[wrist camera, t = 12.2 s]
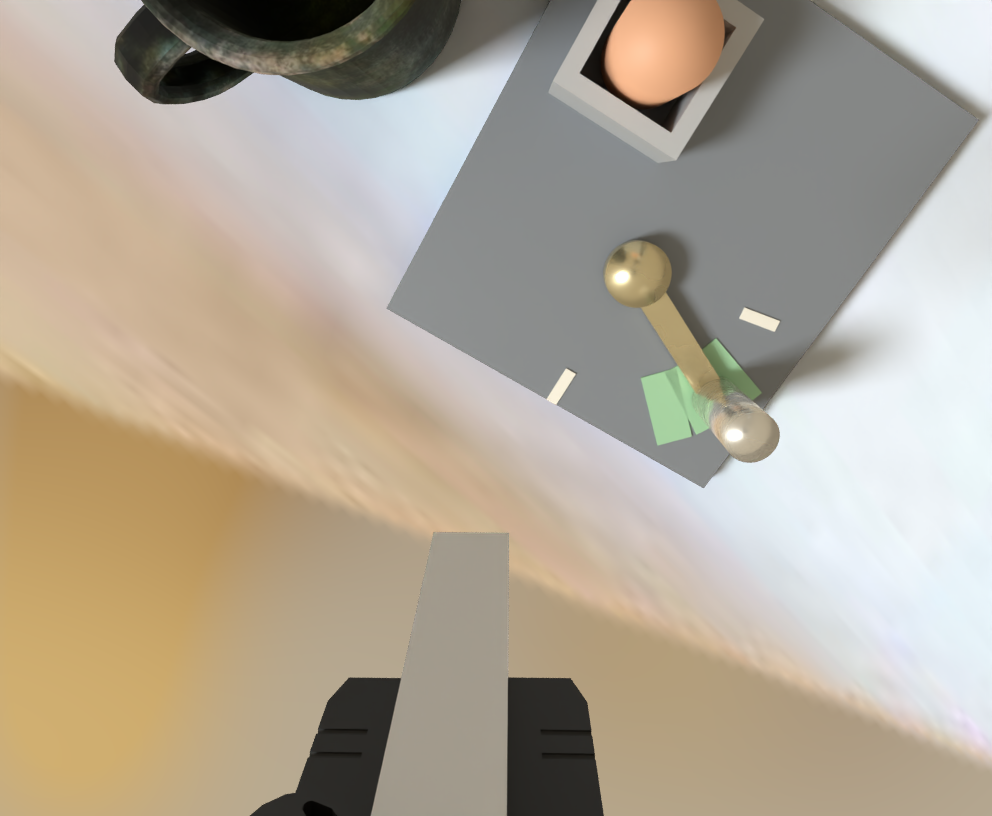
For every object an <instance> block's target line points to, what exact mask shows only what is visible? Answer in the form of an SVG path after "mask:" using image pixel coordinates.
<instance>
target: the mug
mask: <svg viewBox="0 0 992 816" xmlns="http://www.w3.org/2000/svg"><path fill="white" fill-rule="evenodd" d="M141 1H142V2H143V3H144V5H143V6H142V7H141V8H140V9H139V10H138V11H137V12H136V14H135V15H134V16H133V17H132V19H131V20H130V21H129V23H128V24H127V25H126V26H125V28H124V29H123V30H122V31H121V33H120V34H119V35H118V37H117V39H116V43H115V60H114V62H115V63H116V65H117V66H118V68H119V69H120V71H121V73H122V74H123V76H124V77H125V79H126V80H127V81H128V82H129V83H130V84H131V85H132V86H133V87H134V88H135V89H136V90H137V91H138V92H139V93H140V94H141V95H142V96H144V97H145V98H147V99H149V100H150V101H152V102H153V103H159V104H186V103H191V102H196V101H201V100H205V99H208V98H211V97H213V96H216V95H219V94H221V93H223V92H225V91H226V90H228V89H230V88H232V87H233V86H235V85H237V84H238V83H240V82H241V81H242V80H244V79H245V78H247V77H248V76H250V75H251V74H252V73H254V72H255V73H259V74H268V75H280V76H282V77H285V78H287V79H289V80H291V81H293V82H295V83H297V84H299V85H302V86H304V87H306V88H308V89H310V90H313V91H315V92H318V93H320V94H323V95H325V96H330V97H334V98H339V99H351V100H361V99H369V98H376V97H379V96H382V95H386V94H389V93H392V92H394V91H396V90H398V89H400V88H402V87H404V86H406V85H407V84H409V83H410V82H411V81H413V80H414V79H416V78H417V77H418V76H420V75H421V74H422V73H423V72H424V71H425V70H426V69H427V68H428V67H429V66H430V65H431V64H432V63H433V62H434V60H435V59H436V57H437V56H438V55H439V53H440V52H441V50H442V49H443V48H444V46H445V44H446V42H447V40H448V38H449V36H450V34H451V32H452V30H453V27H454V24H455V22H456V19H457V16H458V13H459V8H460V3H461V0H141ZM191 47H192V48H194V49H196V50H195V51H193V52H191V53H188V54H185V53H186V52H187V51H188V50H189V49H190V48H191Z"/></svg>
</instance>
